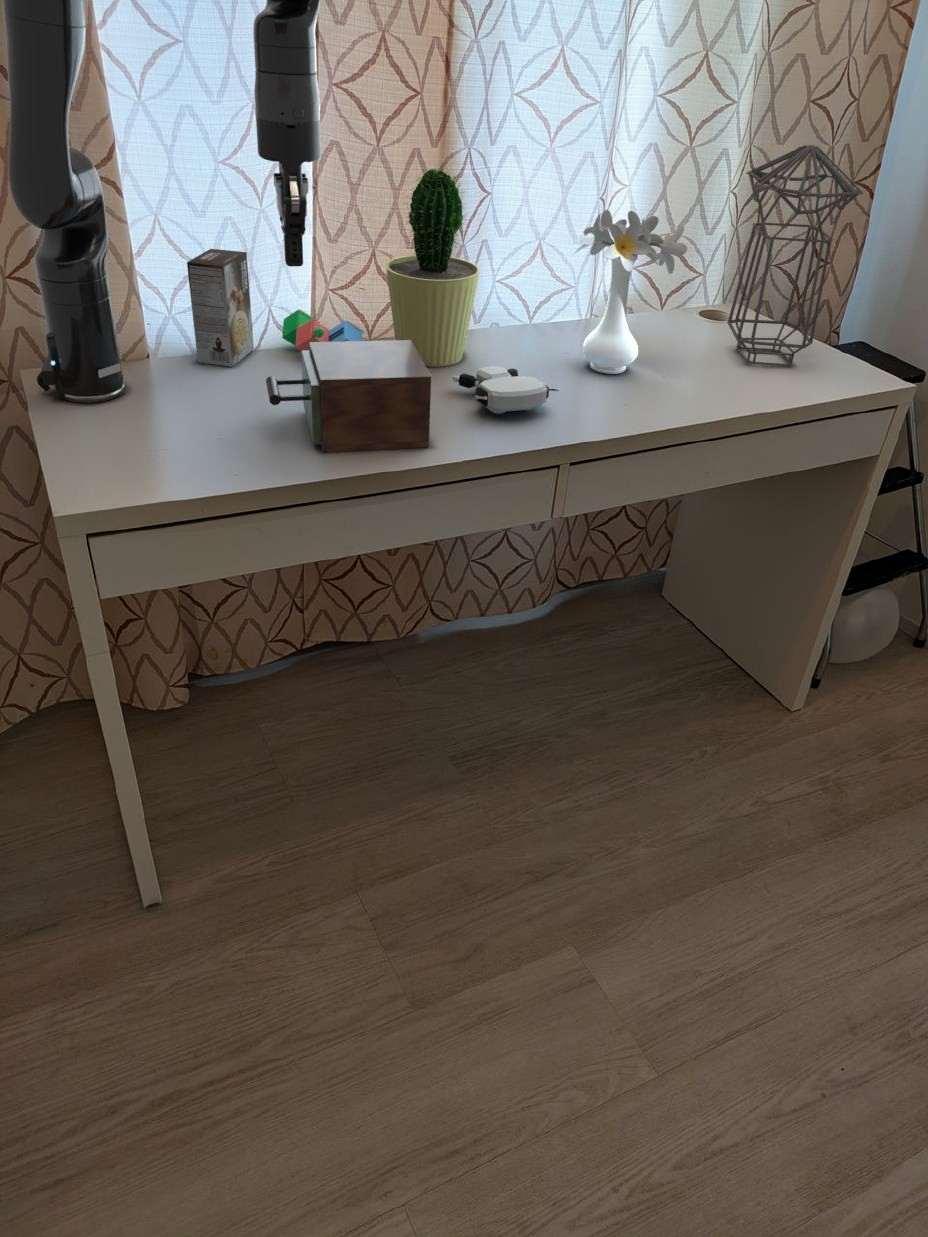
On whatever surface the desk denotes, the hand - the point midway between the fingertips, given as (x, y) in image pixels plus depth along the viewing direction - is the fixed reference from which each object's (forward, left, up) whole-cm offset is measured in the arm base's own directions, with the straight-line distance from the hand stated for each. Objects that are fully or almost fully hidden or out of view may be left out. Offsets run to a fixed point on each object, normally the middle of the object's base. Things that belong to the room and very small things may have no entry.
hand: (294, 264), depth 125 cm
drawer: (+5, 0, -22) cm, 23 cm away
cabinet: (+10, 0, -23) cm, 25 cm away
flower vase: (+55, +21, -23) cm, 63 cm away
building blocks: (+7, +31, -23) cm, 40 cm away
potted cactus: (+25, +29, -23) cm, 45 cm away
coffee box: (-9, +31, -23) cm, 40 cm away
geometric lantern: (+85, +23, -23) cm, 91 cm away
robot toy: (+32, +7, -23) cm, 40 cm away
